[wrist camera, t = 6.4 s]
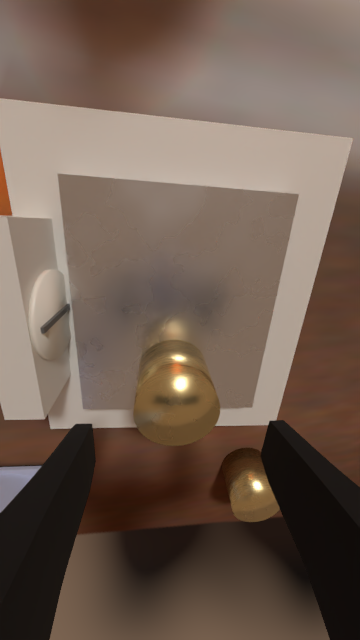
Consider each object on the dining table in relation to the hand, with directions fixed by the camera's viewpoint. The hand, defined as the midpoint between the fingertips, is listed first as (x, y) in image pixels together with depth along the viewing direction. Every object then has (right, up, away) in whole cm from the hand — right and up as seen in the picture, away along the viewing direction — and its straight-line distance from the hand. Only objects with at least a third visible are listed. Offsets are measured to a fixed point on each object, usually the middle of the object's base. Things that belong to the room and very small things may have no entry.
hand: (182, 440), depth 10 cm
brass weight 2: (+6, -10, +15) cm, 19 cm away
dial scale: (-1, +6, +8) cm, 10 cm away
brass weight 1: (-1, +2, +6) cm, 6 cm away
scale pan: (0, +6, +6) cm, 8 cm away
